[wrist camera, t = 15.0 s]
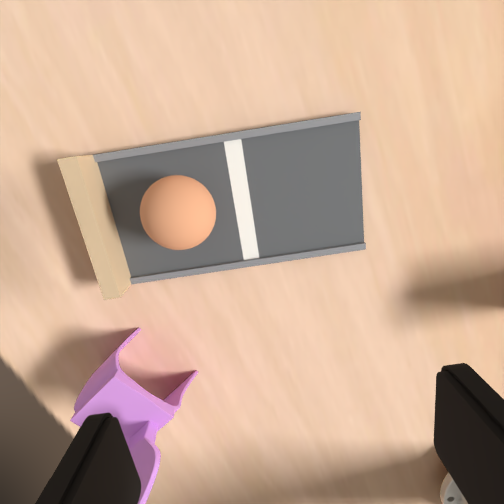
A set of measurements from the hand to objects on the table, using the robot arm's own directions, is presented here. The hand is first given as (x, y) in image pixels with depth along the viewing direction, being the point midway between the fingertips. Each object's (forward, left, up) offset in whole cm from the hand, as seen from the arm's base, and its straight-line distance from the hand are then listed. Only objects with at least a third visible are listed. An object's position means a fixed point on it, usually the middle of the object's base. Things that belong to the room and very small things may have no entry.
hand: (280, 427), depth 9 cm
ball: (+6, -4, -16) cm, 17 cm away
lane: (+2, -3, -22) cm, 23 cm away
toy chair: (+14, +13, -23) cm, 30 cm away
